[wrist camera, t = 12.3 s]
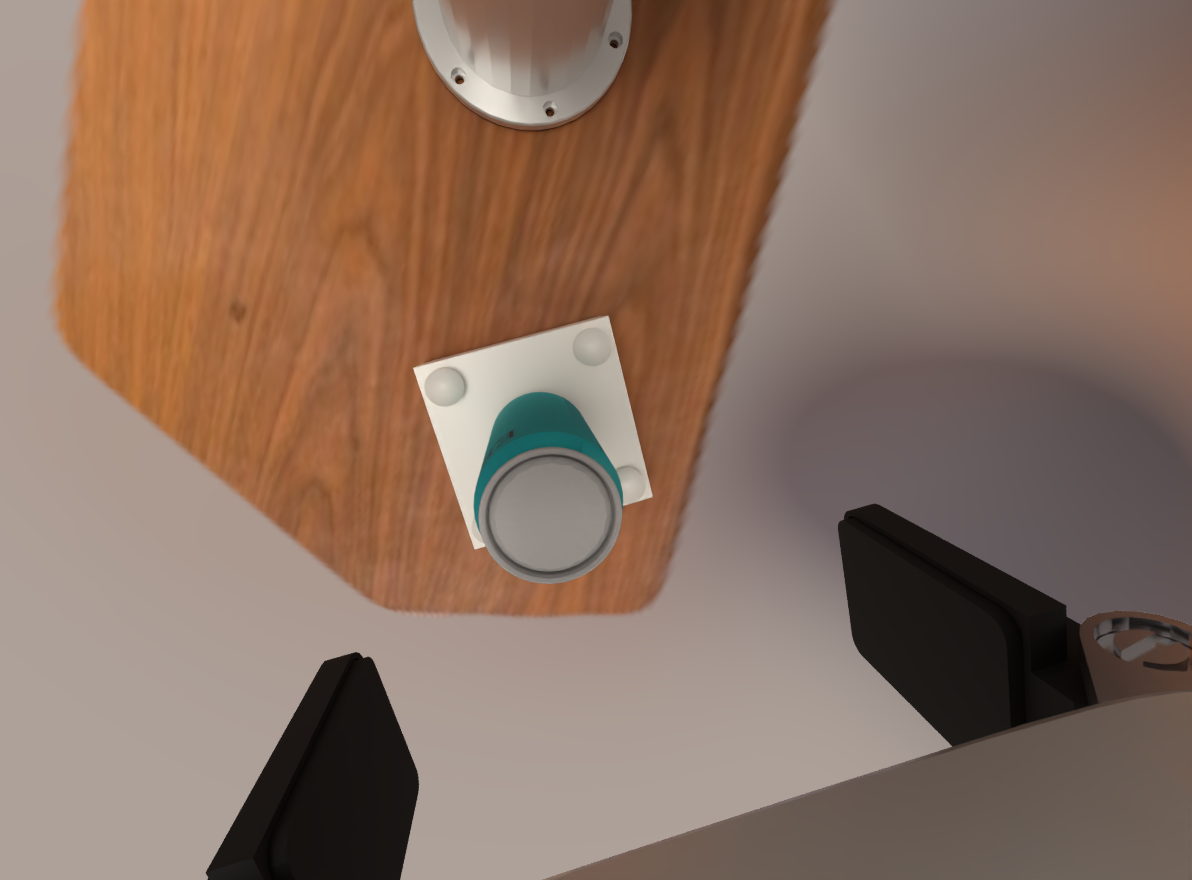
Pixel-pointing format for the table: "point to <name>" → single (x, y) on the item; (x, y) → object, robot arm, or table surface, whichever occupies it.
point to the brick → (524, 365)
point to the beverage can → (546, 492)
